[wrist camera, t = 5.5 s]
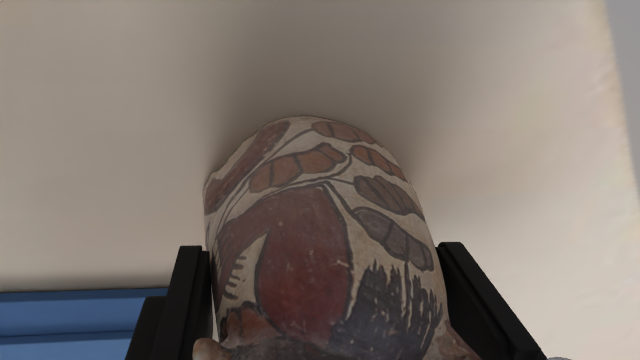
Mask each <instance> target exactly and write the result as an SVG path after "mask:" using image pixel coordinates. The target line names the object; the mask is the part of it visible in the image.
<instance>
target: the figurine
mask: <svg viewBox="0 0 640 360" xmlns="http://www.w3.org/2000/svg"><path fill="white" fill-rule="evenodd" d="M203 203H204V220H205V245H206V251H209V252H210V271H211V286H212V294H213V301H214V309H215V316H216V323H217V331H218V338H219V343H218V342H217V341H215V340H213V339H211V338H200V339H198V340H196V342H195V344H194V346H193V354H192V358H193V360H482V359H481V358H480V357H479V356H478V355H477V354H476V353H475V352H474V351H473V350H472V349H471V348H470V347H469V346H468V345H467V344H466V343H465V342H464V340H463V339H462V338H461V337H460V336H459V335H458V334H457V333H456V331H455V330H454V329H453V328H452V327H451V324H450V319H449V315H448V309H447V295H446V288H445V283H444V278H443V274H442V270H441V267H440V263H439V259H438V255H437V252H436V249H435V246H434V243H433V240H432V238H431V235H430V232H429V229H428V226H427V224H426V221H425V218H424V215H423V211H422V208H421V205H420V203H419V200H418V197H417V195H416V193H415V191H414V189H413V187H412V185H411V184H410V182H409V181H408V179H407V177H406V176H405V174H404V173H403V171H402V169H401V168H400V166H399V165H398V163H397V162H396V160H395V159H394V157H393V156H392V155H391V153H389V152H388V151H387V150H386V149H385V148H384V147H383V146H381V145H380V144H379V143H378V142H377V141H375V140H374V139H373V138H372V137H371V136H370V135H368V134H367V133H365V132H363V131H360V130H358V129H355V128H353V127H350V126H348V125H345V124H343V123H340V122H336V121H331V120H327V119H323V118H319V117H313V116H299V117H288V118H283V119H279V120H276V121H273V122H269V123H268V124H266V125H265V126H264V127H262V128H261V129H260V130H259V131H258V132H257V133H255V134H254V135H253V136H252V137H250V138H249V139H247V140H246V141H244V142H243V143H242V144H241V145H240V146H239V148H238V149H237V150H236V151H235V152H234V153H233V154H232V155H231V156H230V158H229V159H228V161H227V163H226V164H225V165H224V166H223V167H222V168H221V169H220V170H219V171H216V172H213V173H212V174H211V176H210V178H209V180H208V182H207V183H206V185H205V187H204V189H203Z"/></svg>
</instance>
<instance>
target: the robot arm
mask: <svg viewBox="0 0 640 360" xmlns="http://www.w3.org/2000/svg"><path fill="white" fill-rule="evenodd" d="M435 249H436V252H437V255H438V259H439V263H440V267H441V270H442V274H443V278H444V283H445V288H446V295H447V309H448V315H449V319H450V324H451V327H452V328H453V329H454V330H455V331H456V333H457V334H458V335H459V336H460V337H461V338H462V339H463V340H464V342H465V343H466V344H467V345H468V346H469V347H470V348H471V349H472V350H473V351H474V352H475V353H476V354H477V355H478V356H479V357H480V358H481V359H482V360H570V359H567V358H561V357H553V358H549V359H547V357H546V356H545V355H544V353H543V352H542V351H541V348H540V347H539V346H538V344H537V343H536V342H535V340H534V339H533V338H532V336H531V335H530V334H529V332H528V331H527V330H526V328H525V327H524V326H523V324H522V323H521V322H520V320H519V319H518V318H517V316H516V315H515V314H514V312H513V311H512V310H511V308H510V307H509V306H508V304H507V303H506V302H505V300H504V299H503V297H502V296H501V295H500V293H499V292H498V291H497V289H496V288H495V287H494V285H493V284H492V283H491V281H490V280H489V279H488V277H487V276H486V275H485V273H484V272H483V271H482V269H481V268H480V267H479V265H478V264H477V263H476V261H475V260H474V259H473V257H472V256H471V255H470V253H469V252H468V251H467V249H466V248H465V247H464V245H463V244H462V243H461V242H441V243H440V244H439V245H438V247H435ZM212 335H213V314H212V292H211V271H210V252H209V251H202V246H180V248H179V251H178V255H177V259H176V262H175V266H174V270H173V273H172V277H171V281H170V284H169V288H168V292H167V296H147V297H146V298H145V301H144V303H143V306H142V309H141V312H140V315H139V318H138V321H137V324H136V327H135V330H134V333H133V336H132V339H131V342H130V345H129V348H128V351H127V354H126V357H125V360H193V358H192V354H193V346H194V344H195V342H196V340H198V339H200V338H211V339H212Z"/></svg>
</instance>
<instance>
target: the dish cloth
mask: <svg viewBox="0 0 640 360" xmlns="http://www.w3.org/2000/svg"><path fill="white" fill-rule="evenodd" d="M167 292H168V288H150V289H118V290H86V291H54V292H22V293H0V360H125V357H126V354H127V351H128V348H129V345H130V342H131V339H132V336H133V333H134V330H135V327H136V324H137V321H138V318H139V315H140V312H141V309H142V306H143V303H144V301H145V298H146V297H147V296H167Z"/></svg>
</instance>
